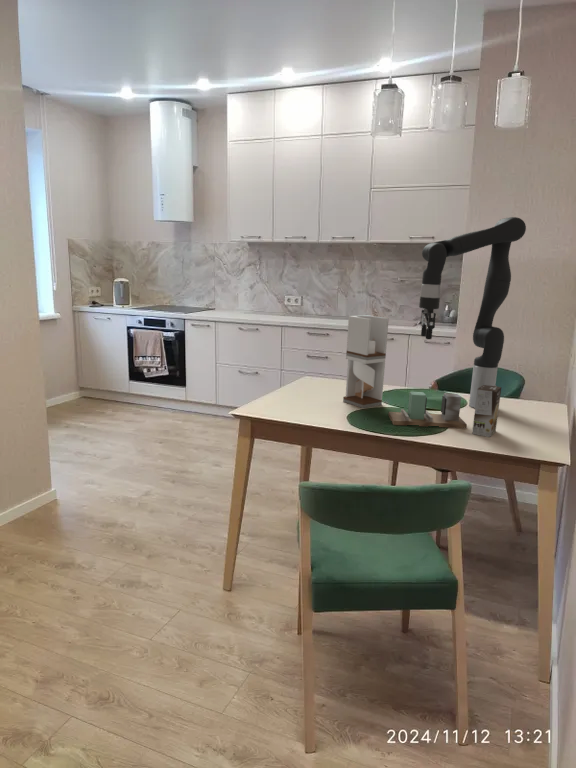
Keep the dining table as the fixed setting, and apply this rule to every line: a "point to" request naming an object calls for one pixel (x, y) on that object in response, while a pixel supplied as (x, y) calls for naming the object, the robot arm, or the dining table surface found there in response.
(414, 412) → the green rectangular block
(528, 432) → the dining table surface
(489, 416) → the coffee box
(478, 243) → the robot arm
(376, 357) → the white dispenser tower
